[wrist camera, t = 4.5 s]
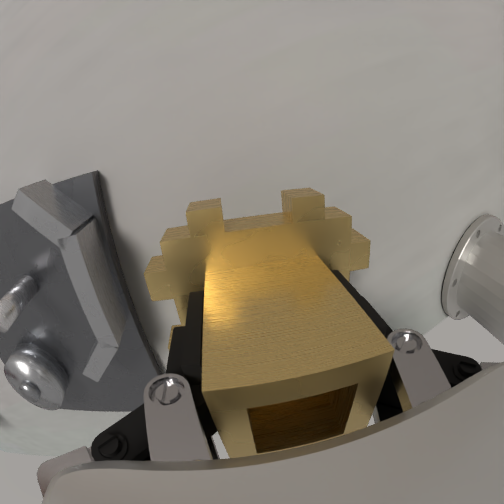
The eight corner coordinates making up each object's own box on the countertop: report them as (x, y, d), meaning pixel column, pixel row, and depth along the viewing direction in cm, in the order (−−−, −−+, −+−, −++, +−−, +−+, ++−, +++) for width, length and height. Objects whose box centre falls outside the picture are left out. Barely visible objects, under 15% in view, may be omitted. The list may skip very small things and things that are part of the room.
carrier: (96, 163, 13) (51, 175, 8) (175, 400, 21) (175, 450, 16) (-50, 223, 11) (-88, 247, 6) (38, 399, 19) (25, 435, 14)
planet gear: (352, 184, 11) (482, 239, 4) (343, 343, 14) (399, 441, 8) (141, 210, 10) (53, 307, 4) (187, 370, 14) (184, 487, 7)
